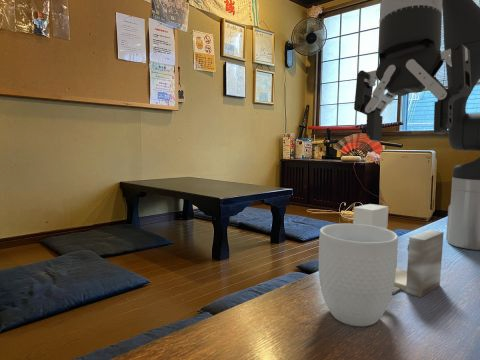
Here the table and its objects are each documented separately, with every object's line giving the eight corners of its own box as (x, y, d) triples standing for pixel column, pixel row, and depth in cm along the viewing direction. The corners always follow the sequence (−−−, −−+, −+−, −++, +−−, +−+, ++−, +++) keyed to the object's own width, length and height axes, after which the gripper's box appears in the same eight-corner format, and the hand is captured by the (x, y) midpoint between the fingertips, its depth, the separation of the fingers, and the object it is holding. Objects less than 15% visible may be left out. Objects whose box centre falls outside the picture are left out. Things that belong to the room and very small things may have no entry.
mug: (362, 288, 62) (366, 217, 60) (423, 314, 53) (429, 231, 51) (301, 310, 54) (304, 228, 52) (360, 345, 45) (365, 247, 43)
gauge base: (341, 275, 67) (343, 226, 66) (369, 264, 74) (371, 218, 73) (414, 301, 57) (417, 242, 56) (439, 285, 63) (443, 232, 62)
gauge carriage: (341, 269, 67) (343, 209, 66) (367, 259, 73) (370, 203, 72) (359, 275, 64) (362, 212, 63) (385, 264, 70) (388, 206, 69)
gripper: (481, 9, 43) (478, 136, 42) (375, 45, 54) (370, 147, 53) (458, -18, 38) (454, 123, 37) (347, 27, 50) (341, 138, 48)
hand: (405, 137), depth 45 cm, fingers open, 8 cm apart
